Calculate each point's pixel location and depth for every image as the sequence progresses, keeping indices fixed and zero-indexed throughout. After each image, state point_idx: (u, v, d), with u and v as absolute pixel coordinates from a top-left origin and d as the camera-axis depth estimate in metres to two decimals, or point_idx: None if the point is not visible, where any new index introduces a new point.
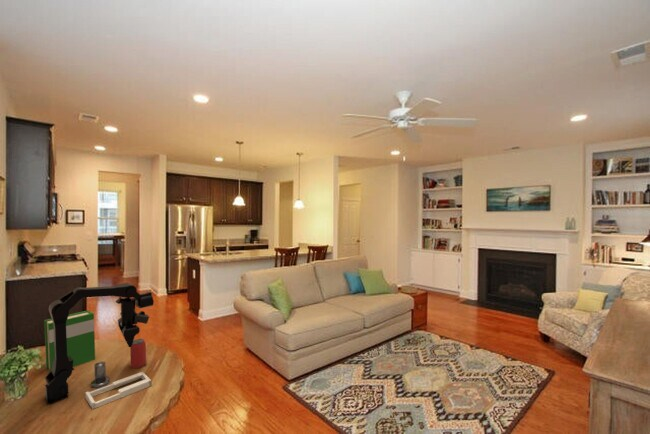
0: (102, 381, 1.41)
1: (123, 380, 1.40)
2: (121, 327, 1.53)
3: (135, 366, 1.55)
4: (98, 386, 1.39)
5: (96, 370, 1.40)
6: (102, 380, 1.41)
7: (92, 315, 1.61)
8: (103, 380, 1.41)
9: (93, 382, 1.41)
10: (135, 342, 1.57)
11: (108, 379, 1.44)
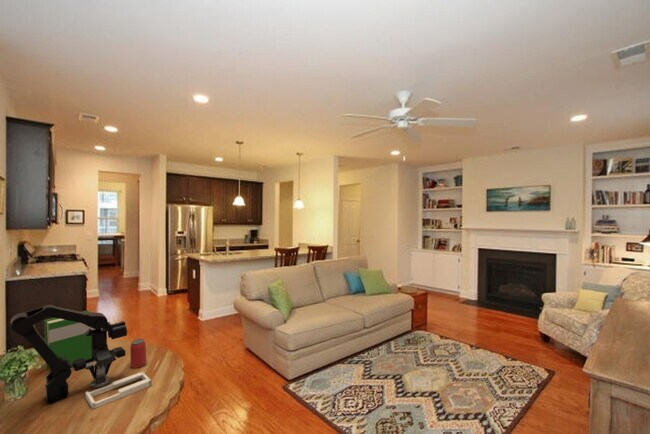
0: (102, 381, 1.41)
1: (123, 380, 1.40)
2: None
3: (135, 366, 1.55)
4: (98, 386, 1.39)
5: (96, 370, 1.40)
6: (102, 380, 1.41)
7: None
8: (103, 380, 1.41)
9: (93, 382, 1.41)
10: (135, 342, 1.57)
11: (108, 379, 1.44)
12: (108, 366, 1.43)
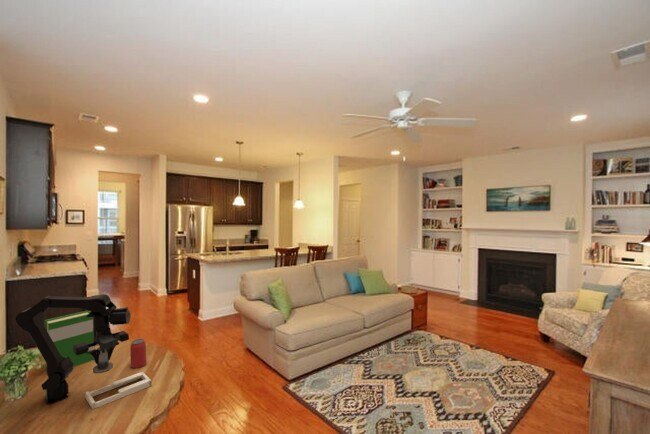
0: (105, 366, 1.34)
1: (123, 380, 1.40)
2: None
3: (135, 366, 1.55)
4: (101, 371, 1.32)
5: (98, 354, 1.33)
6: (105, 365, 1.34)
7: None
8: (106, 365, 1.34)
9: (95, 367, 1.34)
10: (135, 342, 1.57)
11: (111, 364, 1.37)
12: (111, 351, 1.36)
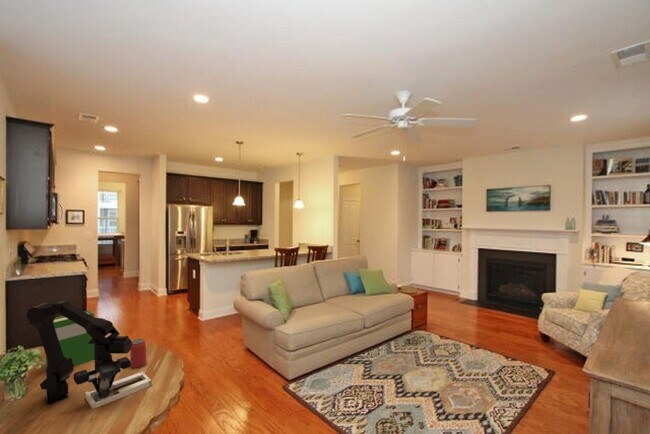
0: (106, 394, 1.31)
1: (123, 380, 1.40)
2: None
3: (135, 366, 1.55)
4: None
5: (99, 383, 1.30)
6: (106, 393, 1.31)
7: (92, 315, 1.61)
8: (107, 393, 1.31)
9: (96, 395, 1.31)
10: (135, 342, 1.57)
11: (112, 392, 1.34)
12: (112, 378, 1.33)
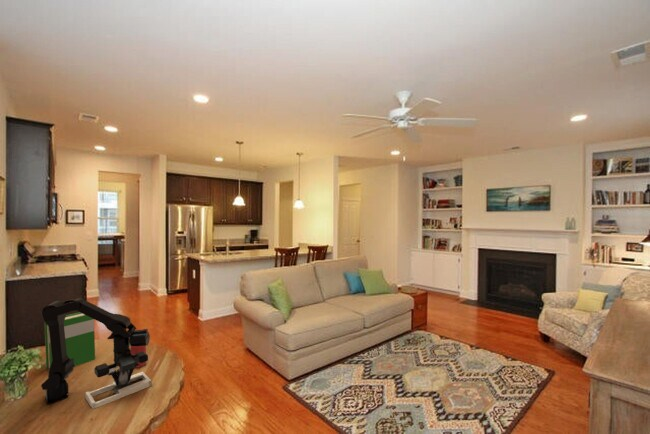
0: None
1: None
2: None
3: None
4: None
5: (119, 376, 1.35)
6: (125, 386, 1.36)
7: None
8: (126, 386, 1.36)
9: (115, 388, 1.36)
10: None
11: None
12: (131, 372, 1.38)
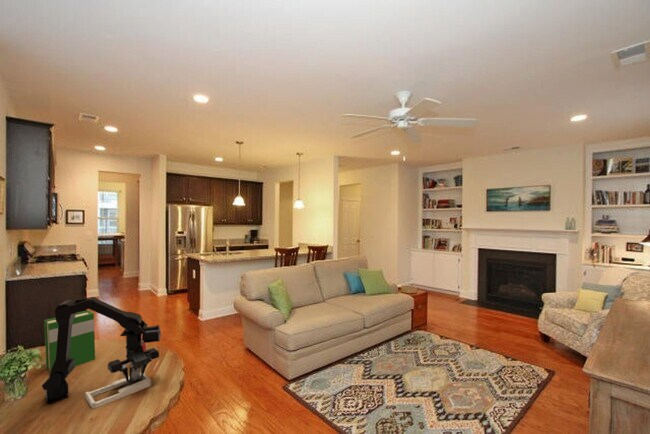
0: None
1: (123, 380, 1.40)
2: None
3: None
4: None
5: (131, 372, 1.38)
6: None
7: (92, 315, 1.61)
8: None
9: (128, 384, 1.40)
10: None
11: None
12: (144, 367, 1.42)
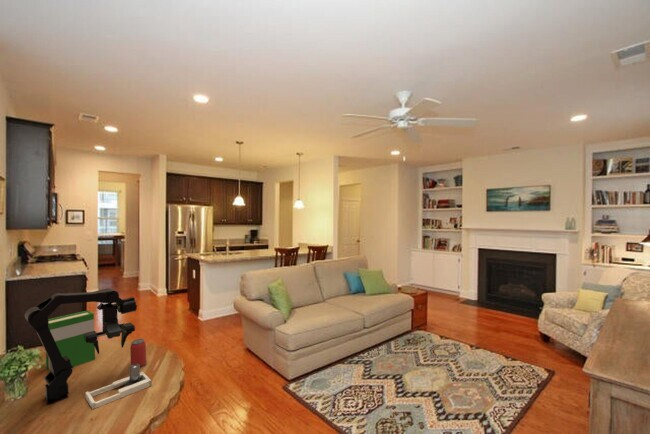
0: None
1: (123, 380, 1.40)
2: (122, 331, 1.51)
3: None
4: None
5: (131, 372, 1.38)
6: None
7: (92, 315, 1.61)
8: None
9: (128, 384, 1.40)
10: (135, 342, 1.57)
11: None
12: (124, 339, 1.49)
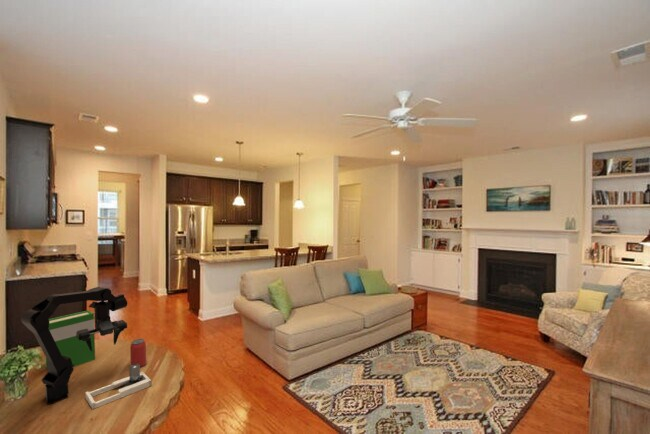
0: None
1: (123, 380, 1.40)
2: None
3: None
4: None
5: (131, 372, 1.38)
6: None
7: (92, 315, 1.61)
8: None
9: (128, 384, 1.40)
10: (135, 342, 1.57)
11: None
12: (116, 336, 1.51)
